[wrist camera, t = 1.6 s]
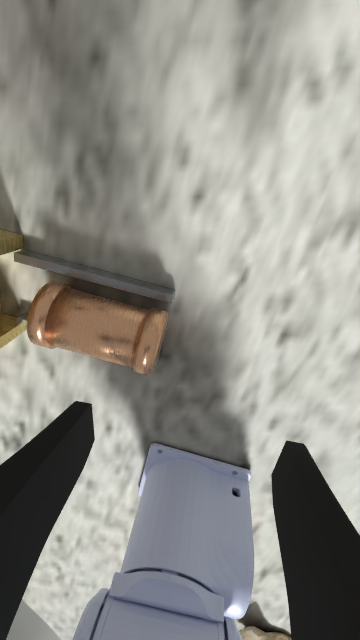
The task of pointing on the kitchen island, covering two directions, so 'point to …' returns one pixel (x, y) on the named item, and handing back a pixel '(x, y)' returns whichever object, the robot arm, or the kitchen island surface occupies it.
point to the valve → (3, 326)
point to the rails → (91, 278)
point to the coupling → (97, 327)
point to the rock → (262, 634)
